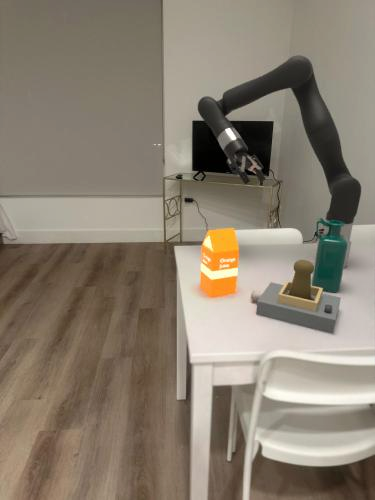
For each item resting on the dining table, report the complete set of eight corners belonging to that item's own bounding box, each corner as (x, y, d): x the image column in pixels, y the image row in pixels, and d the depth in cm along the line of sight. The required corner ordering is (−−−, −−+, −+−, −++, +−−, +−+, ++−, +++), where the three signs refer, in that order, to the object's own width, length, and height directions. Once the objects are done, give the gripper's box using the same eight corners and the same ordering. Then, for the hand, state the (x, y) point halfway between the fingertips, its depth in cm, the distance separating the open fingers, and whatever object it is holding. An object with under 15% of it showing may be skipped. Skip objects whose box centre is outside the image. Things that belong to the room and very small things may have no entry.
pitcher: (338, 283, 120) (350, 219, 113) (339, 293, 113) (352, 226, 105) (307, 278, 123) (317, 216, 115) (306, 288, 115) (316, 222, 108)
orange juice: (199, 287, 115) (202, 227, 108) (224, 283, 118) (227, 224, 111) (210, 298, 108) (214, 234, 101) (236, 293, 111) (241, 231, 104)
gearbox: (338, 309, 103) (342, 289, 101) (332, 333, 91) (336, 311, 89) (258, 291, 113) (260, 272, 111) (243, 310, 101) (245, 290, 99)
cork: (311, 304, 97) (317, 266, 93) (288, 301, 98) (293, 264, 94) (309, 294, 102) (315, 258, 98) (287, 292, 103) (292, 256, 100)
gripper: (225, 137, 119) (249, 176, 115) (251, 136, 129) (275, 173, 125) (212, 152, 125) (235, 190, 121) (239, 151, 134) (261, 186, 130)
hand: (256, 181), depth 123 cm, fingers open, 8 cm apart
